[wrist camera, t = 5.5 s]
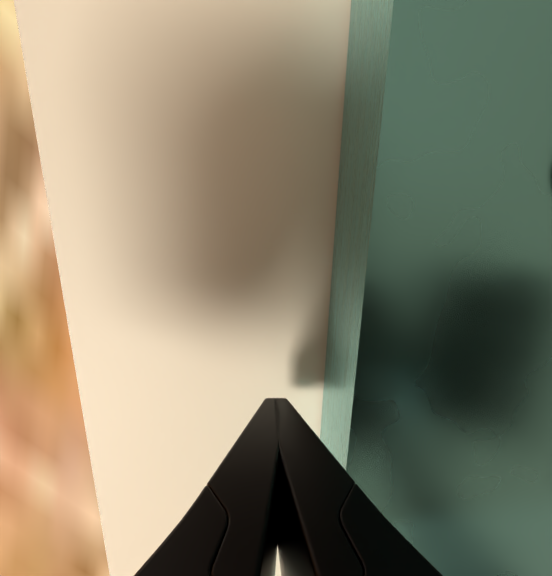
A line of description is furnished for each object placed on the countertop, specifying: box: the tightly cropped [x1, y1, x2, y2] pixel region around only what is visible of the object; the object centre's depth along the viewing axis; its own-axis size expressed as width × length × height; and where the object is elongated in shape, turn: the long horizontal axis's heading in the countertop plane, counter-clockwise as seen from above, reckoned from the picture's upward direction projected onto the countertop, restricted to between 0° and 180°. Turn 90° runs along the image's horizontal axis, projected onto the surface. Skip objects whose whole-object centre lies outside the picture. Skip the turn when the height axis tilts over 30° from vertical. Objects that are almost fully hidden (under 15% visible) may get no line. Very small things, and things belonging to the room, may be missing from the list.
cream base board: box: [14, 0, 351, 576], centre depth 10 cm, size 24×26×1 cm
